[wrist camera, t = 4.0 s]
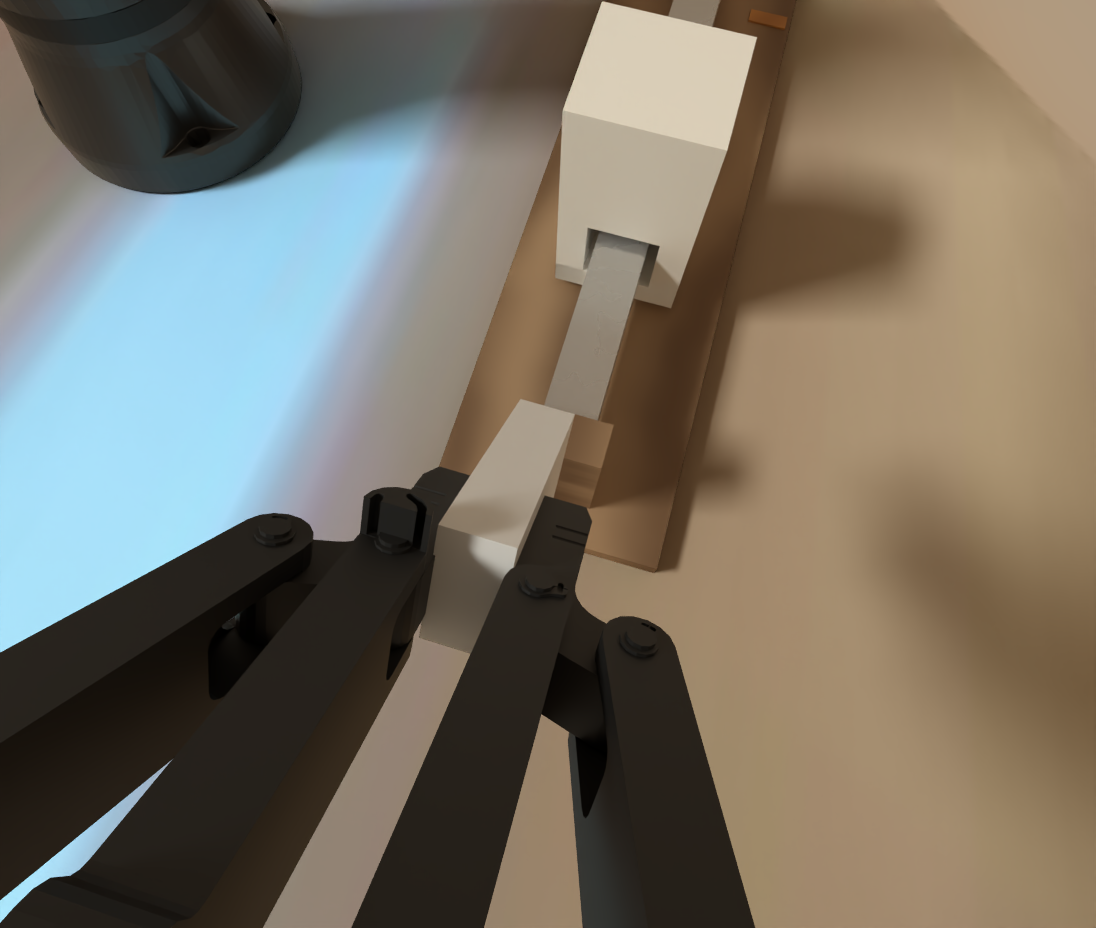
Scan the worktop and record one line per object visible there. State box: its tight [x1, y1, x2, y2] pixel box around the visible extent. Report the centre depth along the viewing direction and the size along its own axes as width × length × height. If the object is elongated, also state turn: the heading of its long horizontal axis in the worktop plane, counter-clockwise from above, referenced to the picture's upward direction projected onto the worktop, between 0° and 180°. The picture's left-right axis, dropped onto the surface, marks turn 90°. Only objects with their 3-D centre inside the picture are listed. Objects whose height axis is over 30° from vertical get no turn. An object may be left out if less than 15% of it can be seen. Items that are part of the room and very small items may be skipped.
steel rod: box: [544, 0, 721, 421], centre depth 38 cm, size 3×42×3 cm, turn 164°
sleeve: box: [555, 1, 757, 308], centre depth 33 cm, size 7×6×12 cm
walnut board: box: [439, 0, 796, 573], centre depth 39 cm, size 12×46×8 cm, turn 164°
